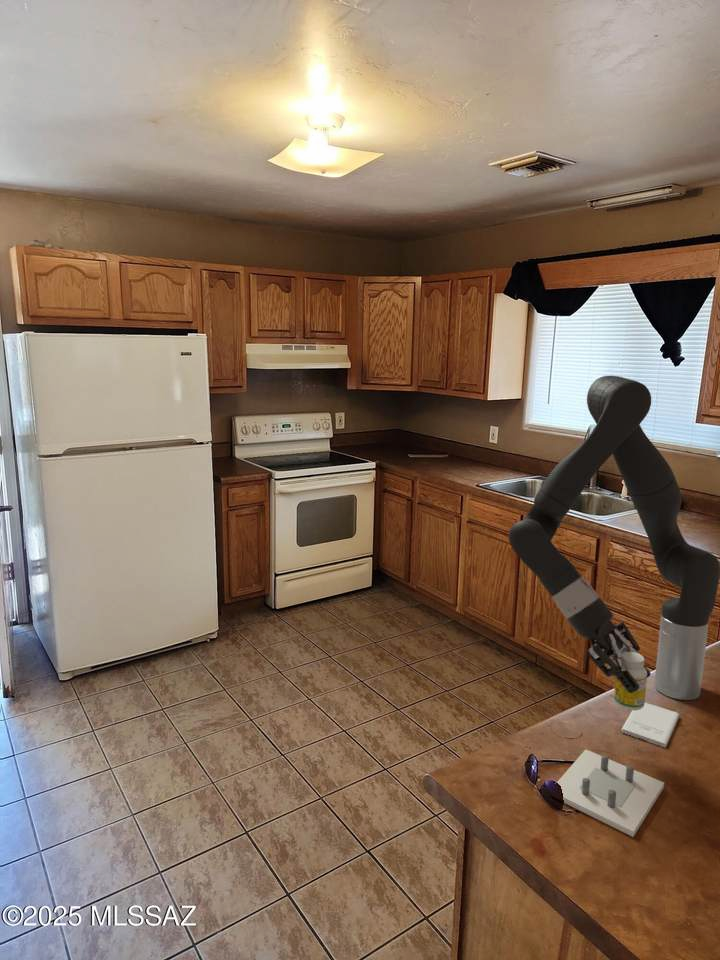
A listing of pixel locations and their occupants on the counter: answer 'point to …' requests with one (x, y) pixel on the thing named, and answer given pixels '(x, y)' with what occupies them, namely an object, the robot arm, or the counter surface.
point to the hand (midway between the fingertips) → (640, 683)
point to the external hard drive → (651, 724)
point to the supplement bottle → (639, 673)
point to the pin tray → (609, 791)
